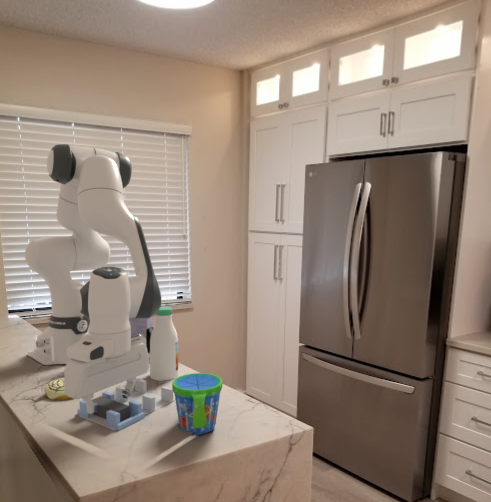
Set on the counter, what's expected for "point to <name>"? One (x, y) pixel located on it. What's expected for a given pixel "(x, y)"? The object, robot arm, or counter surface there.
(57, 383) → the decorated donut
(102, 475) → the counter surface
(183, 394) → the snack cup
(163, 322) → the milk bottle
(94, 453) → the counter surface
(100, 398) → the long gray rectangular prism
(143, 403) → the pegged tray
